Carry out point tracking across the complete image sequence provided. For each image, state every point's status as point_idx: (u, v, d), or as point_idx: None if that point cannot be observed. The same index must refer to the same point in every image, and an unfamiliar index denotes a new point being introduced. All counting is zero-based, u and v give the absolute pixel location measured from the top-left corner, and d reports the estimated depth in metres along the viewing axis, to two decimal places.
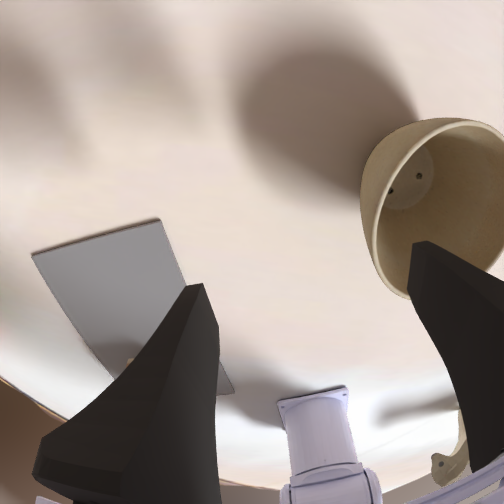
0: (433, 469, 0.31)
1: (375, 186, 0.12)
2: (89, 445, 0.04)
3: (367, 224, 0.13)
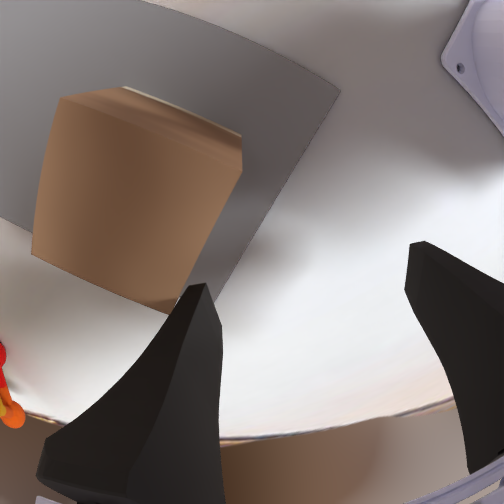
0: None
1: None
2: (94, 445, 0.04)
3: None
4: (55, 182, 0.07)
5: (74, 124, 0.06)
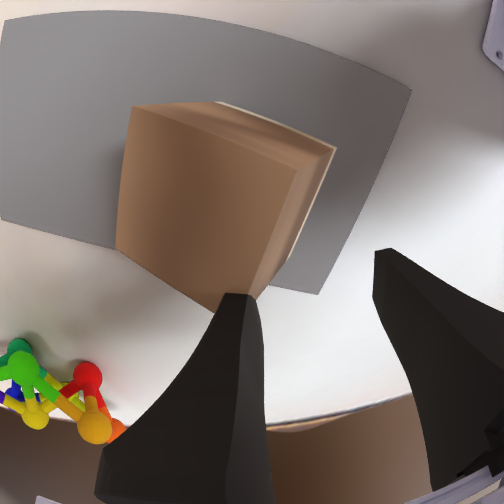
0: None
1: None
2: (169, 451, 0.04)
3: None
4: (133, 182, 0.09)
5: (144, 129, 0.08)
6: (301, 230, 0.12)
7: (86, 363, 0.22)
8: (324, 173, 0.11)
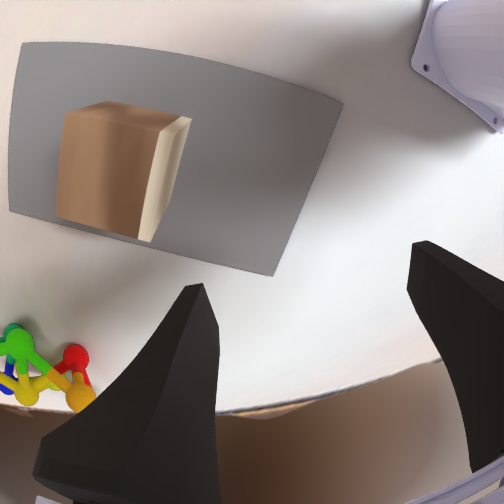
0: None
1: None
2: (89, 444, 0.04)
3: None
4: None
5: None
6: (154, 216, 0.13)
7: (75, 345, 0.24)
8: (155, 155, 0.12)
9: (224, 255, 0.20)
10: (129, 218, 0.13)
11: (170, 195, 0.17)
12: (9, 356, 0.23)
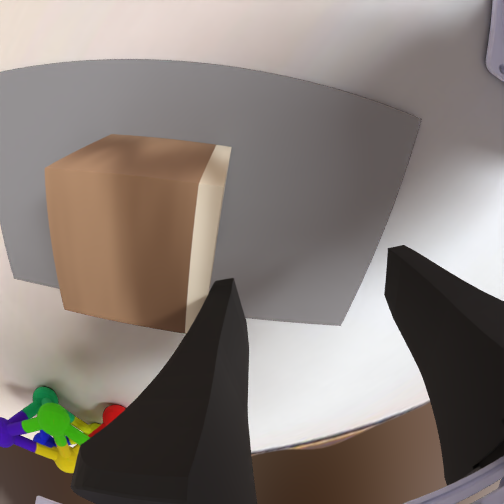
0: None
1: None
2: (140, 450, 0.04)
3: None
4: None
5: None
6: None
7: (114, 406, 0.22)
8: (196, 220, 0.08)
9: (285, 311, 0.16)
10: (169, 309, 0.09)
11: None
12: None
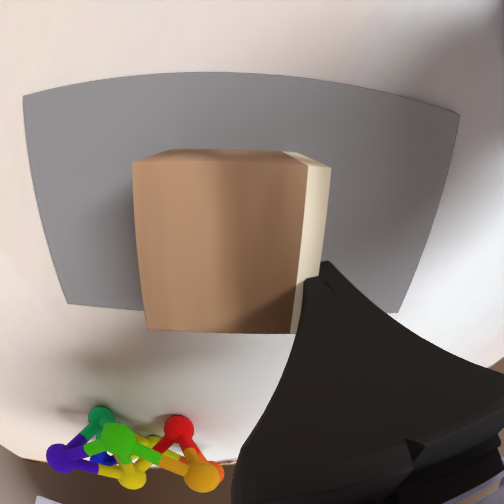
0: None
1: None
2: (329, 435, 0.04)
3: None
4: None
5: None
6: None
7: (175, 417, 0.23)
8: (307, 204, 0.08)
9: None
10: (275, 308, 0.09)
11: None
12: None
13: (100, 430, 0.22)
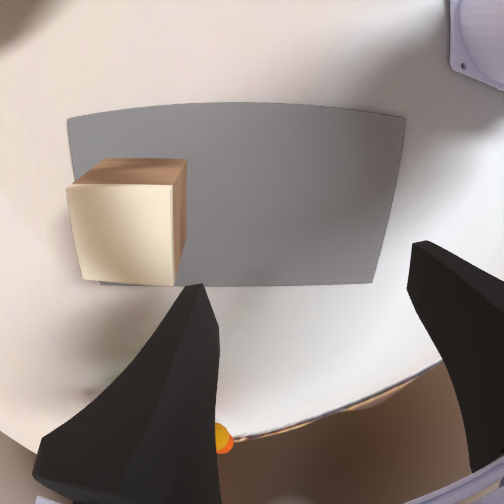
0: None
1: None
2: (89, 445, 0.04)
3: None
4: None
5: None
6: (78, 257, 0.14)
7: None
8: None
9: (328, 276, 0.21)
10: None
11: (163, 278, 0.15)
12: None
13: None
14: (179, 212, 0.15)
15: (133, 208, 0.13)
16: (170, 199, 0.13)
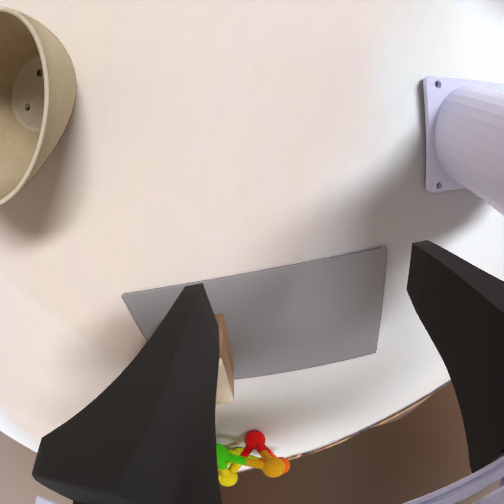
0: None
1: None
2: (89, 444, 0.04)
3: None
4: None
5: None
6: None
7: (251, 432, 0.35)
8: None
9: (341, 356, 0.27)
10: None
11: (226, 400, 0.22)
12: None
13: None
14: (227, 357, 0.22)
15: None
16: (222, 367, 0.20)
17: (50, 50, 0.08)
